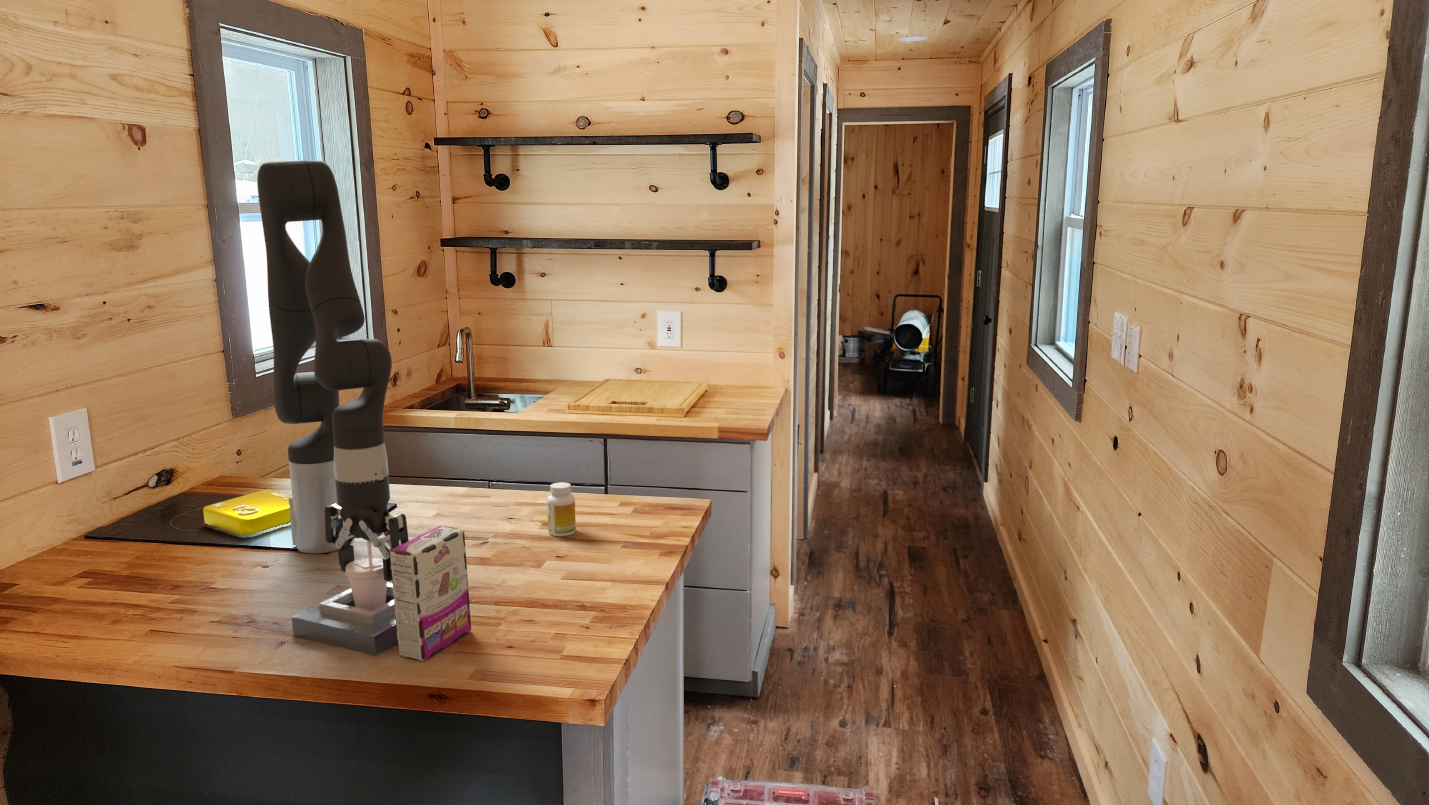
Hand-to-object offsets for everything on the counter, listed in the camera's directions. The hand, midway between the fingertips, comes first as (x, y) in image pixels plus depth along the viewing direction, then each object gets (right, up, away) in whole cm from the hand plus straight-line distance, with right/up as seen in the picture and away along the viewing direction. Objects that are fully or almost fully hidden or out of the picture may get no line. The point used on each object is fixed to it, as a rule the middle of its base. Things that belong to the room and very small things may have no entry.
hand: (369, 574), depth 144 cm
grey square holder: (0, -8, +2) cm, 8 cm away
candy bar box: (+11, -9, -5) cm, 16 cm away
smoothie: (0, -8, +2) cm, 8 cm away
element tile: (-40, +1, +47) cm, 62 cm away
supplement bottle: (+23, +1, +42) cm, 48 cm away
